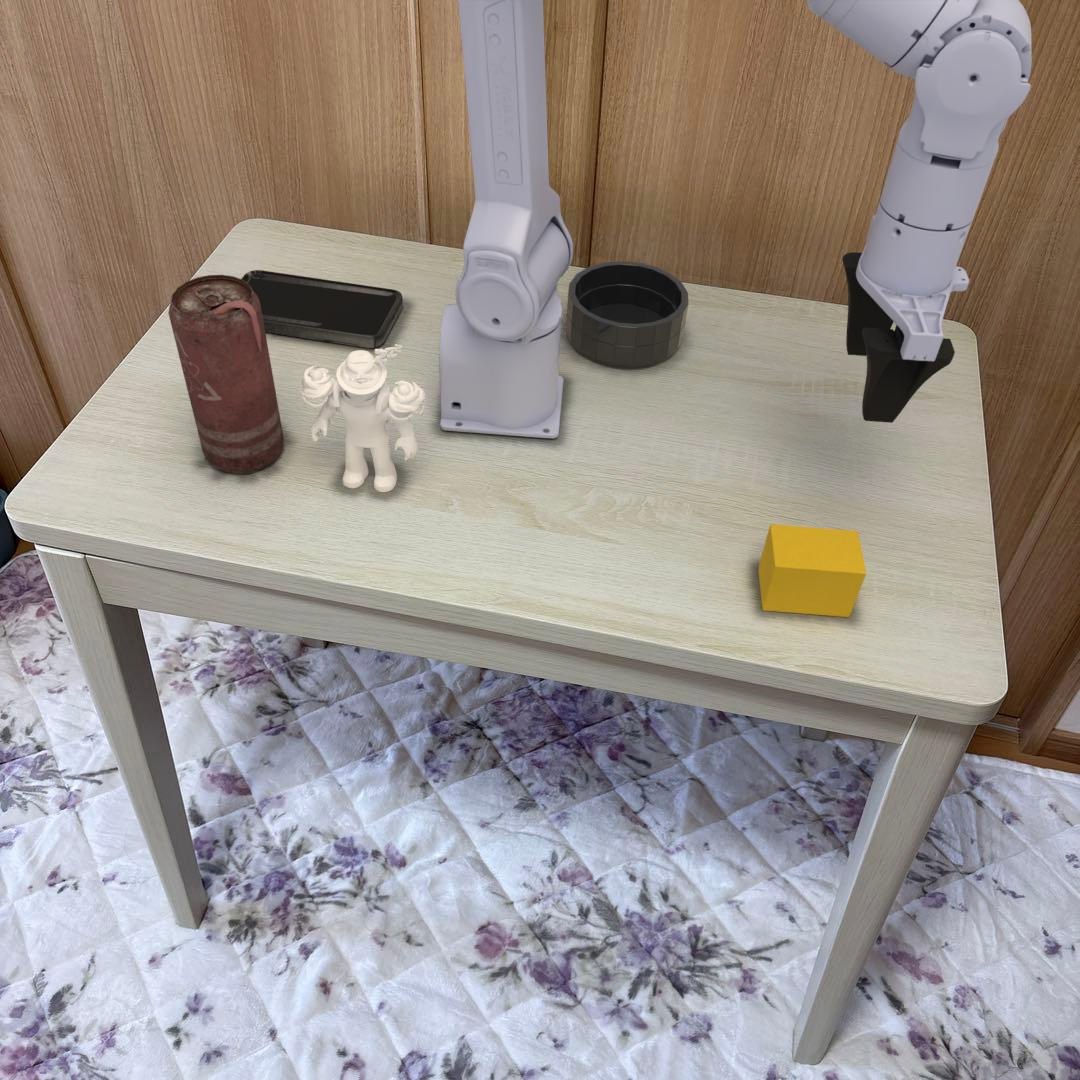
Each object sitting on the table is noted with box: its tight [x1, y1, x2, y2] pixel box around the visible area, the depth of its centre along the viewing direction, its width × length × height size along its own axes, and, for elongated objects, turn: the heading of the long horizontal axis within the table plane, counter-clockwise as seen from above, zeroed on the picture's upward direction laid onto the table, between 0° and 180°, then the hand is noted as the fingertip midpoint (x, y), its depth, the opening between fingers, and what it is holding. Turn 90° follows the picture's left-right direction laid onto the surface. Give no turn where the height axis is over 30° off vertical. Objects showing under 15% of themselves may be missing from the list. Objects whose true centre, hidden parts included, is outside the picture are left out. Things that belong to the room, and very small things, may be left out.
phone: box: [241, 269, 404, 349], centre depth 95 cm, size 8×1×15 cm
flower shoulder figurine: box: [300, 343, 426, 493], centre depth 76 cm, size 9×4×12 cm, turn 79°
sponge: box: [757, 523, 867, 618], centre depth 72 cm, size 6×4×4 cm, turn 86°
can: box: [167, 274, 285, 475], centre depth 77 cm, size 6×6×14 cm
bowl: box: [565, 260, 689, 370], centre depth 93 cm, size 10×10×4 cm
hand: (868, 384), depth 75 cm, fingers open, 7 cm apart
